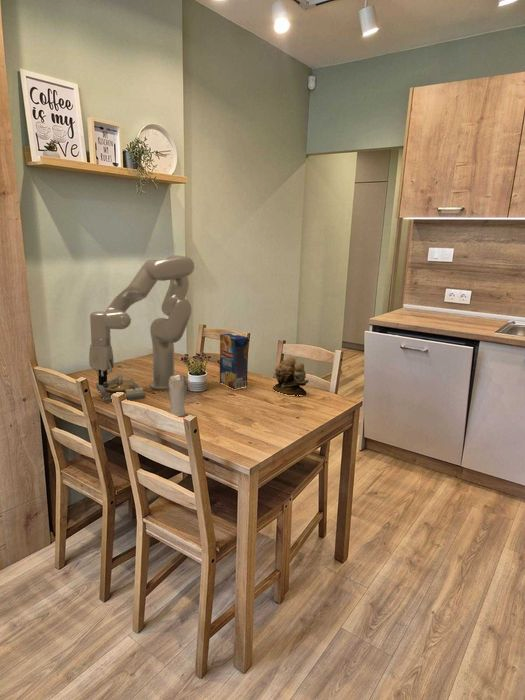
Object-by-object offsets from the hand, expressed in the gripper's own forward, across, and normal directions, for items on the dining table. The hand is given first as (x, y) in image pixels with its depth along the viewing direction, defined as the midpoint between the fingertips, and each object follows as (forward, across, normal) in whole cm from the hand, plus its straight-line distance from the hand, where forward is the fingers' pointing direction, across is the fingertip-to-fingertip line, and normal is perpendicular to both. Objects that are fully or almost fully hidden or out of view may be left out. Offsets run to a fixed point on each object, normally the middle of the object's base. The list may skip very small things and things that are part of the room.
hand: (103, 384), depth 187 cm
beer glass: (+6, +38, +3) cm, 39 cm away
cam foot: (+4, +1, +6) cm, 7 cm away
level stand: (+6, 0, +9) cm, 10 cm away
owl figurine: (+6, +62, +53) cm, 82 cm away
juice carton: (+6, +36, +45) cm, 58 cm away
